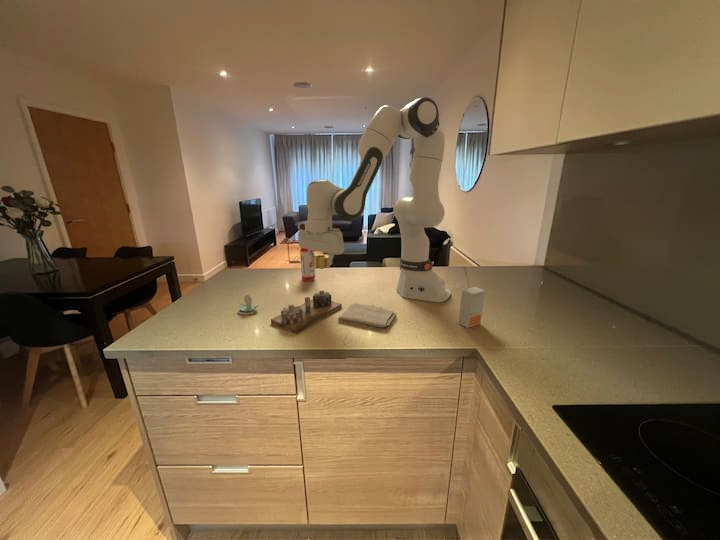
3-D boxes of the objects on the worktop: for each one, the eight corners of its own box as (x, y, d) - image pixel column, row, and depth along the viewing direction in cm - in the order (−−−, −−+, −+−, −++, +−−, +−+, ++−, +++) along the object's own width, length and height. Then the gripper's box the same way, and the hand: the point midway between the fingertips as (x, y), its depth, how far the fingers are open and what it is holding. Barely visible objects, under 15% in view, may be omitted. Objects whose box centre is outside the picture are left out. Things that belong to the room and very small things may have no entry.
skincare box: (467, 328, 93) (472, 294, 89) (457, 323, 96) (461, 289, 93) (481, 324, 95) (485, 290, 92) (471, 319, 99) (475, 286, 95)
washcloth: (387, 333, 91) (387, 324, 90) (336, 323, 98) (336, 315, 97) (397, 317, 102) (397, 309, 101) (350, 309, 108) (350, 301, 107)
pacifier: (252, 316, 102) (261, 309, 108) (250, 300, 100) (259, 293, 106) (234, 315, 104) (243, 307, 109) (231, 299, 101) (241, 292, 107)
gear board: (341, 307, 108) (341, 291, 106) (296, 333, 90) (294, 314, 88) (317, 300, 115) (317, 285, 113) (271, 323, 97) (269, 305, 95)
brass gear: (333, 265, 111) (333, 255, 110) (321, 270, 106) (321, 259, 105) (321, 263, 115) (320, 253, 114) (308, 266, 110) (308, 256, 109)
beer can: (316, 277, 142) (314, 245, 137) (313, 281, 136) (311, 248, 131) (304, 276, 142) (301, 245, 138) (300, 281, 136) (298, 248, 132)
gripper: (347, 227, 103) (347, 265, 107) (306, 222, 114) (308, 256, 118) (336, 230, 98) (336, 269, 102) (294, 224, 109) (296, 259, 113)
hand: (321, 262), depth 110 cm, fingers closed on brass gear, 7 cm apart
